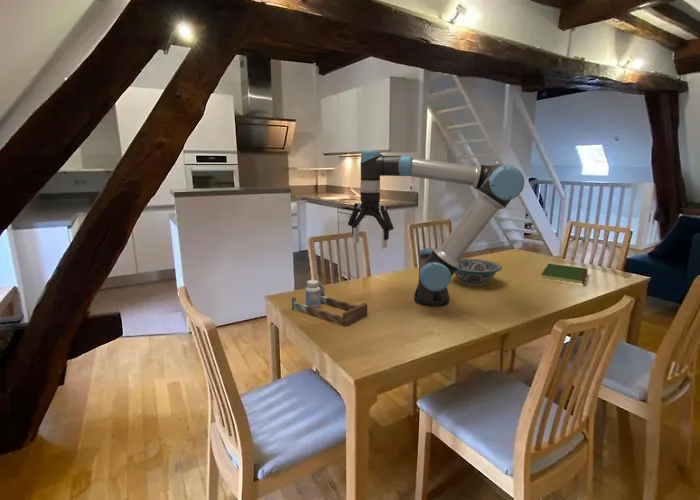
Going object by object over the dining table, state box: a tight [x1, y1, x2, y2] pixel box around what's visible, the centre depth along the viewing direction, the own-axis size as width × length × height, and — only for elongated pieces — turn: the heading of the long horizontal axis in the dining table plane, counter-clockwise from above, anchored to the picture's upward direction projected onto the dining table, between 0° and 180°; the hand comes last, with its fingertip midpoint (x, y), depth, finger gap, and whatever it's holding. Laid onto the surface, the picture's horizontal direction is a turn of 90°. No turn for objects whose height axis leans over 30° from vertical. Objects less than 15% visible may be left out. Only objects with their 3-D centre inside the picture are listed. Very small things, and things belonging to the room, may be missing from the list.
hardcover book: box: [540, 263, 589, 285], centre depth 205 cm, size 25×19×4 cm
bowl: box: [454, 258, 503, 287], centre depth 195 cm, size 25×25×10 cm
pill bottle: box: [305, 279, 322, 309], centre depth 164 cm, size 6×6×11 cm
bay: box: [291, 281, 368, 327], centre depth 161 cm, size 30×18×7 cm, turn 52°
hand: (369, 245), depth 157 cm, fingers open, 13 cm apart
